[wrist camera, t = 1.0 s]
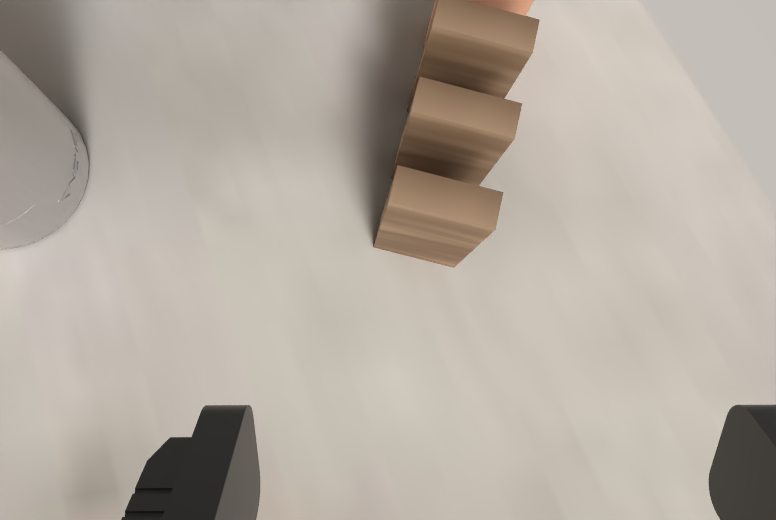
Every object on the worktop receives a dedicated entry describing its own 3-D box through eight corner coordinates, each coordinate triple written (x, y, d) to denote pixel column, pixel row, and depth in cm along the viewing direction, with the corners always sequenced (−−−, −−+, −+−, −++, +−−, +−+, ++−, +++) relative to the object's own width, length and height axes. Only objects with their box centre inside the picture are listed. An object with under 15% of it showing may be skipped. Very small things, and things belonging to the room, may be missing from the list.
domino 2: (484, 131, 41) (532, 52, 31) (407, 111, 41) (432, 25, 31) (489, 105, 41) (539, 19, 32) (413, 85, 41) (440, -8, 31)
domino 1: (497, 67, 42) (549, -29, 32) (423, 47, 42) (451, -55, 32) (503, 42, 42) (555, -60, 33) (429, 22, 42) (459, -87, 32)
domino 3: (469, 197, 40) (514, 138, 30) (390, 177, 40) (411, 111, 30) (475, 170, 41) (521, 103, 31) (397, 150, 40) (419, 76, 31)
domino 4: (453, 267, 39) (495, 229, 30) (373, 247, 39) (388, 201, 29) (460, 239, 40) (503, 192, 30) (380, 219, 39) (397, 165, 30)
